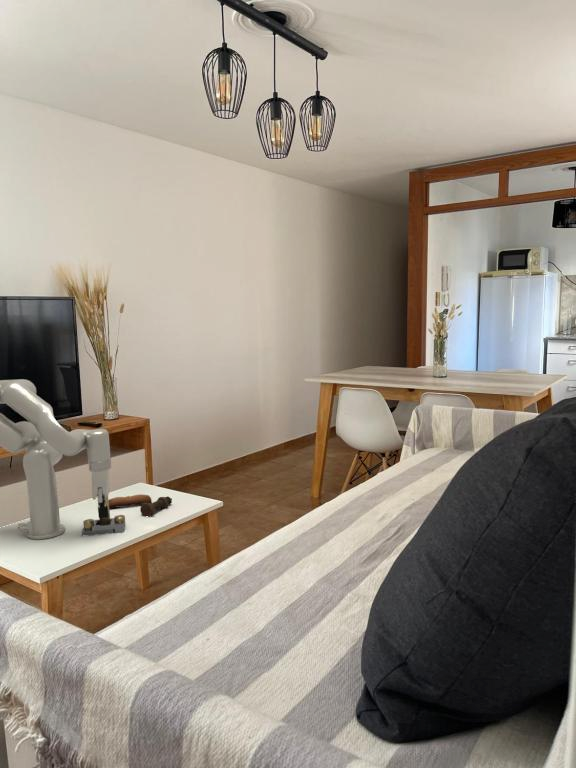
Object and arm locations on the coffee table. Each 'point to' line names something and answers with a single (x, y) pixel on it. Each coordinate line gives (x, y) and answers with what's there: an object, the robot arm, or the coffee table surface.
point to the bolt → (155, 506)
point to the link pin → (107, 520)
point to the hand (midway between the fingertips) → (104, 515)
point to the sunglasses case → (129, 501)
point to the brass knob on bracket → (104, 526)
